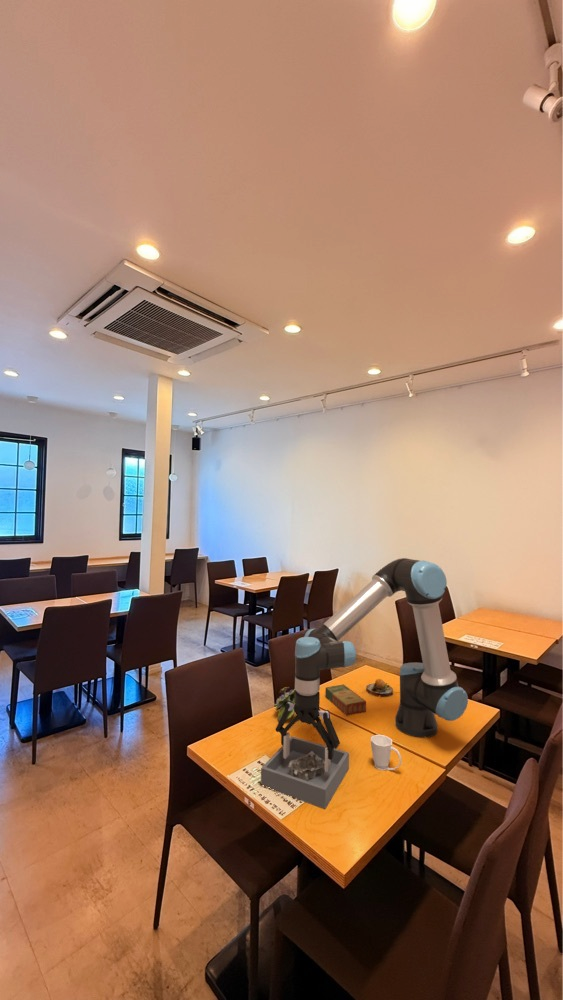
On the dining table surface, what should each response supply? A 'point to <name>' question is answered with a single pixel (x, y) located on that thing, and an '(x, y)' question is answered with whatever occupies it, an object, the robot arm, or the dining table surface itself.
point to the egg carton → (307, 766)
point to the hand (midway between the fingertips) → (306, 762)
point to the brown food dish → (380, 689)
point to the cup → (382, 752)
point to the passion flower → (285, 702)
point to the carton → (345, 700)
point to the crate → (312, 790)
